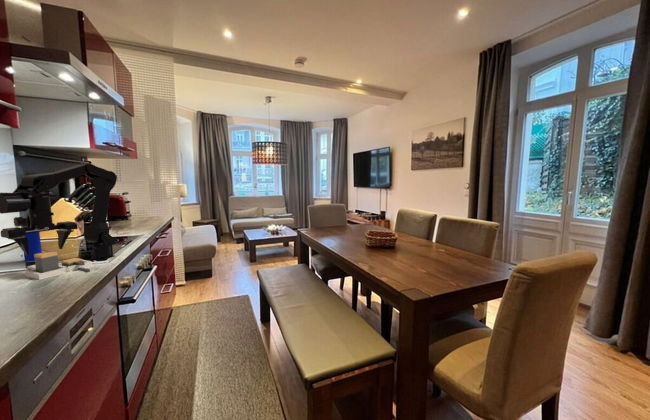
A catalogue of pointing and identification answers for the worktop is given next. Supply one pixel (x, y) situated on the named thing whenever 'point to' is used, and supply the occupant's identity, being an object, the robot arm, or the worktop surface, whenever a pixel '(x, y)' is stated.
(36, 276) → the two-cubby shelf
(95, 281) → the worktop surface
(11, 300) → the worktop surface
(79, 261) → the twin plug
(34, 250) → the beverage can
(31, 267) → the tray
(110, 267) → the worktop surface
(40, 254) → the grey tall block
